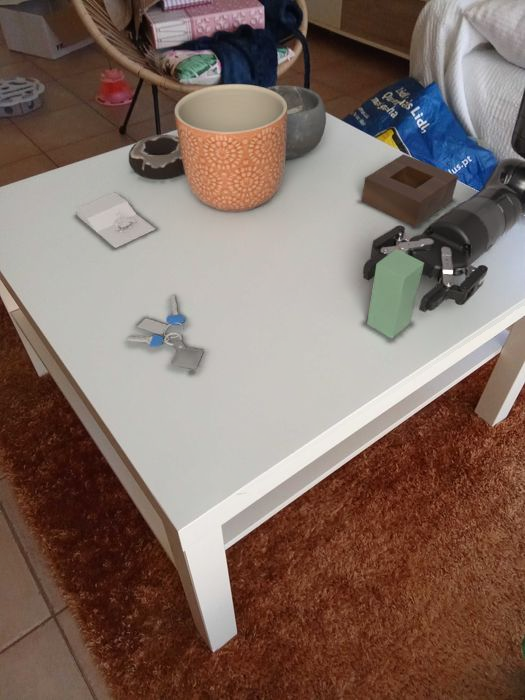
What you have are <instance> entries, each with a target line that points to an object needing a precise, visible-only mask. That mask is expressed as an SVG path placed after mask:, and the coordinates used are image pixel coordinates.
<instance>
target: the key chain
mask: <svg viewBox="0 0 525 700" xmlns="http://www.w3.org/2000/svg"><path fill="white" fill-rule="evenodd" d="M170 296H171V301H170V303H171V310H172V314H170V315H167V317H166V319H165V320H166V323H167V324H166V323H163V322H159V321H157V320H153V319H150V318H147V317H145V319H143V320H142V321H141V322H140V323H139V324H138V325H136V328H138V329H142V330H144V331H146V332H151V333H154V334H152V335H151V336H142V335H139V336H138V335H136V336H133V335H130V336H127V338H126V340H127V342H137V343H146V344H148V346H149V347H159V346H161V345H162V344H163V343H165V344H166V345H168V346H171V347H172V346H173V347H174V348H175V350H176V352H175V355H174V357H173V359H172V361H171V366H173V367H180V368H186V369H190V370H196V369H197V368H198V366H199V363H200V361H201V359H202V357H203V354H204V350H203V349H201V348H194V347H188V346H186V345H185V344H184V342H183V341H182V340H183V336H182V333H183V332H184V325H183V324H184V322H185V320H186V318H185V316H184V315H182V314H178V309H177V307H178V306H177V302H176V297H175V295H174V294H173V295H172V294H171V295H170ZM171 325H173V326H174V325H175V326H177V325H178V326H179V325H180V326H181V328H182V329H181V332H180V333H178V332H174V331H173V332H169V333H167V334H166V331H167V330H168V329H169V327H170V326H171ZM162 334H163V335H164V338H163V336H161V335H162ZM171 336H172V337H171ZM177 337H178V339H176V340H174V341H171V342H169V341H170V339H175V338H177Z"/></svg>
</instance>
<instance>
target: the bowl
mask: <svg viewBox="0 0 525 700" xmlns="http://www.w3.org/2000/svg"><path fill="white" fill-rule="evenodd" d="M265 88H266V89H269V90H272V91H274V92H276V93H278V94H279V95H280V96H282V97H283V98H284V100H285V101H286V103H287V135H286V157H285V160H287V159H288V160H289V159H295V158H298V157H301V156H303V155H306V154H308V153H310V152H311V151H313V150H314V149H316V148H317V146H318V145H319V144H320V143H321V140H322V138H323V135H324V133H325V129H326V123H327V116H326V115H327V113H326V112H327V111H326V107H325V103H324V102H323V99H322V98H321V96H320V94H319V93H316V91H314V90H312V89H309V88H306V87H301V86H299V85H289V84H288V85H287V84H286V85H285V84H284V85H283V84H280V85H271V86H268V87H265Z"/></svg>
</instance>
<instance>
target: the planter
mask: <svg viewBox="0 0 525 700" xmlns="http://www.w3.org/2000/svg"><path fill="white" fill-rule="evenodd" d="M266 88H267V87H262V86H259V85H253V84H245V83H244V84H243V83H228V84H227V83H226V84H218V85H211V86H207V87H202V88H200V89H197V90H194V91H191V92H190V93H188V94H186V95H185V96H183V97H182V98H181V99H180V100H179V101H178V102H177V103H176V105H175V107H174V118H175V119H174V120H175V126H176V132H177V137H178V138H179V144H180V151H181V157H182V162H183V167H184V175H185V178H186V179H185V180H186V182H187V184H188V187H189V189H190V191H191V192H192V193H193V195H194V196H195V197H196V198H197V199H198V200H200V202H202V203H203V204H205V205H207V206H209V207H211V208H213V209H215V210H218V211H223V212H236V213H237V212H245V211H251V210H253V209H256V208H257V207H260V206H262V205H263V204H265V203H266V202H268V201H269V200H270V199H272V197H273V196H274V195H275V194H276V193H277V192H278V190H279V188H280V186H281V184H282V182H283V178H284V172H285V167H286V159H285V157H286V135H287V103H286V101H285V100H284V98H283V97H282V96H280V95H279V94H278V93H276V92H274V91H272V90H269V89H266Z"/></svg>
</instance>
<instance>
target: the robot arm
mask: <svg viewBox="0 0 525 700" xmlns="http://www.w3.org/2000/svg"><path fill="white" fill-rule="evenodd" d="M510 139H511V140H510V144H511V145H510V146H511V148H512V150H513V152H515V153H516V154H517V155H518V156H520V158H521V159H520V158H517V157H516V158H515V157H509V158H505V159H502V160H499V162H497V163H496V164H495V166H494V167H493V169H492V170H491V171H490V173H489V176H488V177H487V179H486V181H485V183H484V184H483V186H482V187H481V188H480V190H479V191H477V192H476V193H474V195H472V196H470V197H469V198H468V199H466V200H465V201H463V202H460V203H458V204H457V205H455V206H454V207H452V208H451V209H450V210H448V211H447V212H445V213H444V214H443V215H442V216H440V217H439V218H437V219H436V220H435V221H434V222H432V223H431V224H430V225H428V227H426V229H425V230H424V231H423V232H422V233H421V234H417V235H413V236H412V235H410V234H408V233H406V232H405V230H406V228H405V226H404V225H400V224H399V225H397V226H395V227H393V228H391V229H390V230H388V231H386V232H385V233H383V234H382V235H379V236H378V237H376V238H375V239H373V240H372V243H371V251H370V259H368V260H367V261H365V262H364V264H363V272H362V274H363V276H362V279H364V280H366V281H368V282H370V281H371V280H373V279H374V277H375V271H376V264H377V263H378V262H379V261H381V260H382V259H383V258H385V257H386V256H387V255H389V254H390V253H392V252H393V251H394V250H396V249H398V250H400V251H402V252H404V253H406V254H408V255H410V256H412V257H414V258H416V259H418V260H420V261H422V262H424V266H423V270H422V275H423V276H425V277H426V278H428V279H436V281H435V282H436V285H435V286H434V287H433V288H431V289H430V290H429V291H428V292H427V293H426V294H424V295H423V296H422V298H421V299H420V304H419V308H418V310H419V311H421V312H422V313H426V312H428V311H429V312H432V311H434V310H436V309H437V308H438V307H439V306H440V305H441V304H443V303H444V302H447V301H449V300H452V301H454V303H455V304H456V305H458V306H463V305H465V304H466V303H467V302H468V301H469V300H470V299H471V298H472V297H473V296H474V295H475V293H477V292H478V290H479V289H480V288H481V287H482V286H483V284H484V283H485V280H486V277H487V273H488V270H489V268H488V266H486V265H484V264H480V265H478V266H477V267H475V266H474V265H472V264H473V263H475V262H476V261H477V260H478V259H479V258H481V257H482V256H483V255H484V254H485V253H487V252H488V251H490V250H491V248H492V247H493V246H494V245H495V244H496V243H497V242H498V241H499V239H500V238H501V237H503V236H504V235H505V234H506V233H507V232H508V231H509V230H511V229H512V228H513V227H514V226H515V225H516V224H517V223H518V222H519V220H520V218H521V217H522V215H523V216H525V87H524V88H523V92H522V97H521V100H520V104H519V107H518V111H517V114H516V119H515V123H514V127H513V130H512V133H511V137H510ZM522 158H523V159H524V160H523V159H522ZM463 275H465V277H464V280H463V281H462V282H461V283H460V284H459V285H458V284H455V281H454V277H459V276H463Z"/></svg>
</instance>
